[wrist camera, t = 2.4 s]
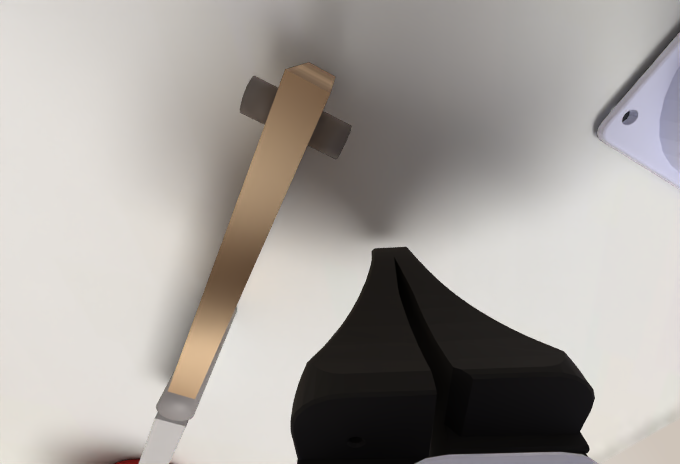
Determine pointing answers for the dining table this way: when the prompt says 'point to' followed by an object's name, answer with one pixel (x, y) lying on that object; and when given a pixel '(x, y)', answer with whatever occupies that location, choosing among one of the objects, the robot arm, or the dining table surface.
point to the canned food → (129, 461)
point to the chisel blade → (174, 418)
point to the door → (259, 202)
